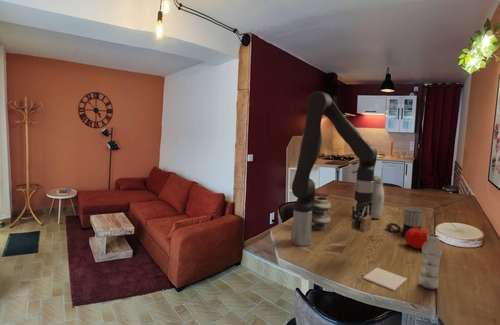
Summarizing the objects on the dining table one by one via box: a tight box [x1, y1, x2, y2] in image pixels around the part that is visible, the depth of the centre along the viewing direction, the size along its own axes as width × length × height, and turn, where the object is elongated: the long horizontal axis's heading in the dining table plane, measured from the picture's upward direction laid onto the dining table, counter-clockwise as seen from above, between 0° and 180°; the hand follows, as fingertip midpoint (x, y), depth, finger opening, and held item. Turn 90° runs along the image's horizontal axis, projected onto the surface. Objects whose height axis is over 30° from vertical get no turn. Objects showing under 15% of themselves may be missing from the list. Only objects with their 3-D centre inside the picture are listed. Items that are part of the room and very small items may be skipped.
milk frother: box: [386, 206, 424, 236], centre depth 167 cm, size 14×16×15 cm
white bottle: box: [369, 175, 385, 220], centre depth 193 cm, size 10×10×28 cm
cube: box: [350, 215, 372, 233], centre depth 133 cm, size 6×6×6 cm
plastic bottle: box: [418, 233, 443, 290], centre depth 110 cm, size 6×7×20 cm
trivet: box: [362, 267, 408, 292], centre depth 116 cm, size 12×12×1 cm
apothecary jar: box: [311, 195, 332, 232], centre depth 173 cm, size 12×12×18 cm
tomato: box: [404, 227, 430, 250], centre depth 148 cm, size 11×12×9 cm
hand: (360, 226), depth 133 cm, fingers closed on cube, 6 cm apart
